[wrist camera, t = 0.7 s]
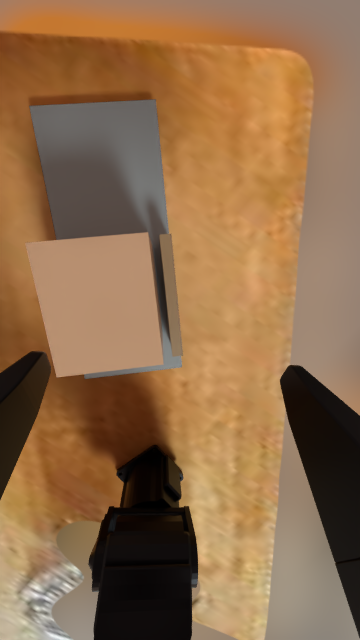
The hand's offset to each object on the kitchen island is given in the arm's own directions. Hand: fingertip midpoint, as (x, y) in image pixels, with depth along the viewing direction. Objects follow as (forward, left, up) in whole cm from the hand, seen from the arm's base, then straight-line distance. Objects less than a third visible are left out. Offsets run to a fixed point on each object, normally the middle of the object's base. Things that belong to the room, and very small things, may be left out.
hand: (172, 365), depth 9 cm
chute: (-1, +7, -18) cm, 19 cm away
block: (-3, +3, -16) cm, 17 cm away
